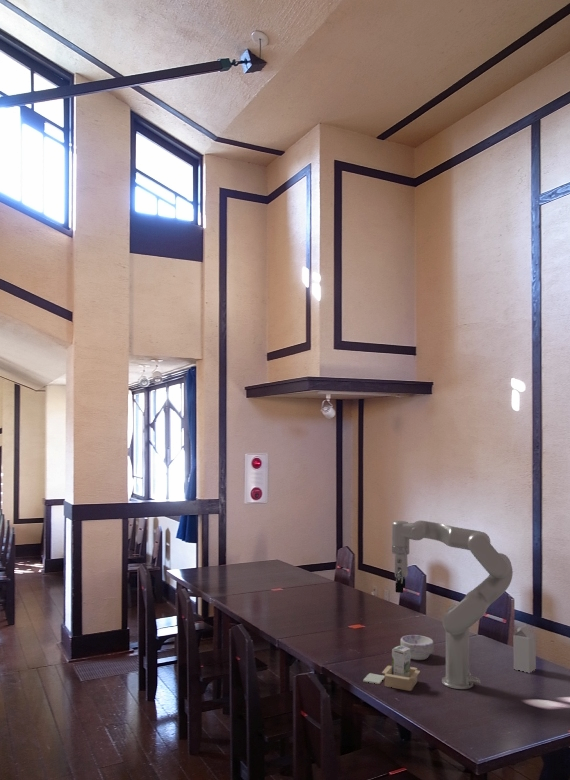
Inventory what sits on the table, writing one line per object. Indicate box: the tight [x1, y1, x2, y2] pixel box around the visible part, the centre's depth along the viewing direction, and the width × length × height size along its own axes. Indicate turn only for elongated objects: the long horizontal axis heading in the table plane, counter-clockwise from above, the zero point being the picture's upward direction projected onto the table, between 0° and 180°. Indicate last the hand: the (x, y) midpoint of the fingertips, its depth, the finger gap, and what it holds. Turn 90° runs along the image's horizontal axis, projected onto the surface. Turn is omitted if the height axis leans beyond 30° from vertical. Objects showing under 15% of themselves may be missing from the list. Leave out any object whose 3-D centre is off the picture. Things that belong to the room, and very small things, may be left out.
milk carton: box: [512, 624, 537, 674], centre depth 282 cm, size 7×7×19 cm
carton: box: [381, 665, 421, 692], centre depth 262 cm, size 14×15×5 cm
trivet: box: [362, 672, 385, 685], centre depth 267 cm, size 7×9×1 cm
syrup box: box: [391, 645, 411, 678], centre depth 263 cm, size 6×6×14 cm
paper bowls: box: [400, 634, 435, 661], centre depth 297 cm, size 15×15×8 cm
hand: (400, 589), depth 275 cm, fingers open, 9 cm apart
